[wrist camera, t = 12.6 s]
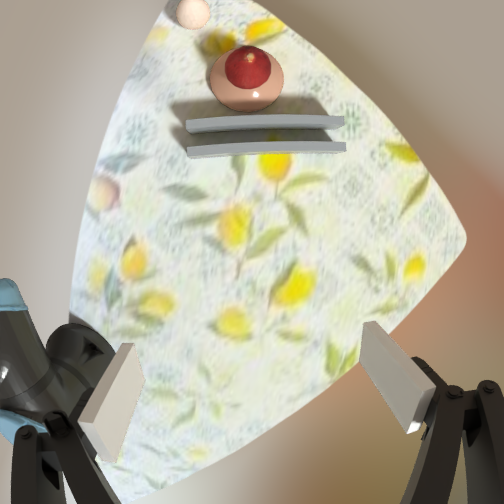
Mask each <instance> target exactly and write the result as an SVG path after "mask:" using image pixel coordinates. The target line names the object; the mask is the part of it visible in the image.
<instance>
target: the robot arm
mask: <svg viewBox="0 0 504 504" xmlns="http://www.w3.org/2000/svg"><path fill="white" fill-rule="evenodd" d="M359 362H360V363H361V365H362V366H363V368H364V369H365V371H366V372H367V374H368V375H369V377H370V378H371V380H372V381H373V383H374V385H375V386H376V388H377V389H378V390H379V392H380V394H381V395H382V397H383V398H384V400H385V401H386V403H387V404H388V406H389V407H390V409H391V410H392V412H393V413H394V415H395V416H396V418H397V420H398V421H399V423H400V424H401V426H402V427H403V429H404V431H405V432H406V434H408V433H411V432H414V431H416V430H419V429H420V428H421V425H422V423H423V421H424V422H425V423H426V425H427V427H426V430H425V432H424V434H423V436H422V438H421V440H422V444H421V447H420V450H419V453H418V457H417V460H416V463H415V466H414V469H413V472H412V474H411V477H410V480H409V482H408V485H407V488H406V490H405V493H404V495H403V498H402V500H401V502H400V504H447V503H448V499H449V496H450V492H451V488H452V484H453V480H454V475H455V471H456V466H457V461H458V456H459V450H460V444H461V437H462V440H463V448H464V457H465V466H466V478H467V495H468V504H504V397H503V395H502V392H501V389H500V387H499V385H498V384H497V383H496V382H494V381H490V380H484V381H481V382H480V383H479V385H478V387H477V389H476V390H471V391H464V390H463V389H462V388H460V387H458V386H455V385H449V386H448V385H447V384H446V383H445V382H444V381H443V380H442V379H441V378H440V377H439V375H438V374H437V373H436V372H435V371H433V369H432V368H431V367H429V365H428V364H427V363H426V362H425V361H424V360H422V359H420V358H418V357H412V358H410V357H409V356H408V355H407V354H406V353H405V352H404V351H403V350H402V348H401V347H399V345H397V343H396V342H395V341H394V340H393V339H392V338H391V337H390V336H389V335H388V334H387V333H386V332H385V331H384V329H383V328H382V327H381V326H380V325H379V324H378V323H377V322H376V321H371V322H365V323H363V333H362V342H361V350H360V358H359ZM144 383H145V378H144V375H143V372H142V369H141V365H140V362H139V359H138V355H137V352H136V348H135V345H134V343H122V344H121V346H120V348H119V349H118V351H117V353H115V352H114V350H113V349H112V347H111V346H110V345H109V344H108V343H107V341H106V340H105V339H104V338H102V337H101V336H100V335H99V334H97V333H96V332H95V331H93V330H91V329H89V328H87V327H85V326H82V325H79V324H65V325H62V326H60V327H58V328H57V329H56V330H55V331H54V332H53V333H52V334H51V335H50V337H49V339H48V341H47V344H46V349H45V348H44V346H43V344H42V342H41V340H40V338H39V335H38V333H37V331H36V329H35V326H34V324H33V322H32V319H31V317H30V315H29V312H28V307H27V306H26V305H25V303H24V301H23V298H22V296H21V294H20V291H19V289H18V287H17V285H16V283H15V282H14V281H12V280H10V279H7V278H3V279H0V432H1V433H2V435H3V436H4V437H5V438H6V439H7V440H8V441H9V442H10V443H12V444H13V445H14V446H13V457H12V472H11V504H66V498H65V491H64V482H63V473H64V475H65V478H66V480H67V483H68V485H69V487H70V489H71V492H72V494H73V496H74V498H75V501H76V502H77V504H121V502H120V501H119V499H118V497H117V496H116V494H115V493H114V491H113V490H112V488H111V486H110V485H109V483H108V481H107V480H106V478H105V476H104V474H103V473H102V471H101V469H100V467H99V466H98V464H97V462H96V461H95V457H96V454H98V456H99V457H100V459H101V460H102V461H107V462H113V463H116V462H117V459H118V456H119V453H120V450H121V447H122V444H123V441H124V438H125V435H126V433H127V430H128V427H129V424H130V421H131V418H132V416H133V413H134V410H135V407H136V405H137V402H138V399H139V397H140V394H141V391H142V389H143V386H144ZM62 471H63V473H62Z"/></svg>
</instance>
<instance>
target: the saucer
mask: <svg viewBox="0 0 504 504" xmlns="http://www.w3.org/2000/svg"><path fill="white" fill-rule="evenodd" d="M240 48H241V47H240ZM236 49H238V48H236ZM236 49H233V50H230V51H228V52H226V53H224V54H223V55H222V56H221V57H219V58H218V60H217V61H216V62H215V63H214V65H213V67H212V70H211V74H210V83H211V87H212V90H213V93H214V95H215V96H216V98H217V99H218V100H219V101H220V102H221V103H222V104H224V105H225V106H227V107H228V108H230V109H233V110H236V111H241V112H253V111H258V110H261V109H263V108H265V107H267V106H269V105H270V104H272V103H273V102H274V101H275V100H276V99H277V97H278V96H279V94H280V92H281V90H282V87H283V83H284V76H283V71H282V68H281V66H280V64H279V63H278V61H277V60H276V59H275V58H274V57H273V56H272V55H270V54H269V53H267V52H265V51H264V52H265V53H266V54H267V55H268V57H269V59H270V62H271V75H270V77H269V79H268V80H267V81H266V82H265V83H264V84H262V85H261V86H260V87H258V88H254V89H241V88H238V87H235V86H234V85H233V84H232V83H230V82H229V81H228V79H227V76H226V74H225V62H226V60H227V58H228V56H229V55H230V54H231V53H232V52H233V51H234V50H236Z"/></svg>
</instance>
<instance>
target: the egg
mask: <svg viewBox="0 0 504 504" xmlns="http://www.w3.org/2000/svg"><path fill="white" fill-rule="evenodd" d="M176 16H177V20H178V22H179V23H180V24H181V26H183V27H184V28H186V29H190V30H196V29H199V28H202V27H203V26H204V25H206V23H207V22H208V20H209V18H210V9H209V6H208V4H207V3H206V1H204V0H181V1H180V3H179V5H178V7H177V10H176Z"/></svg>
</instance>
